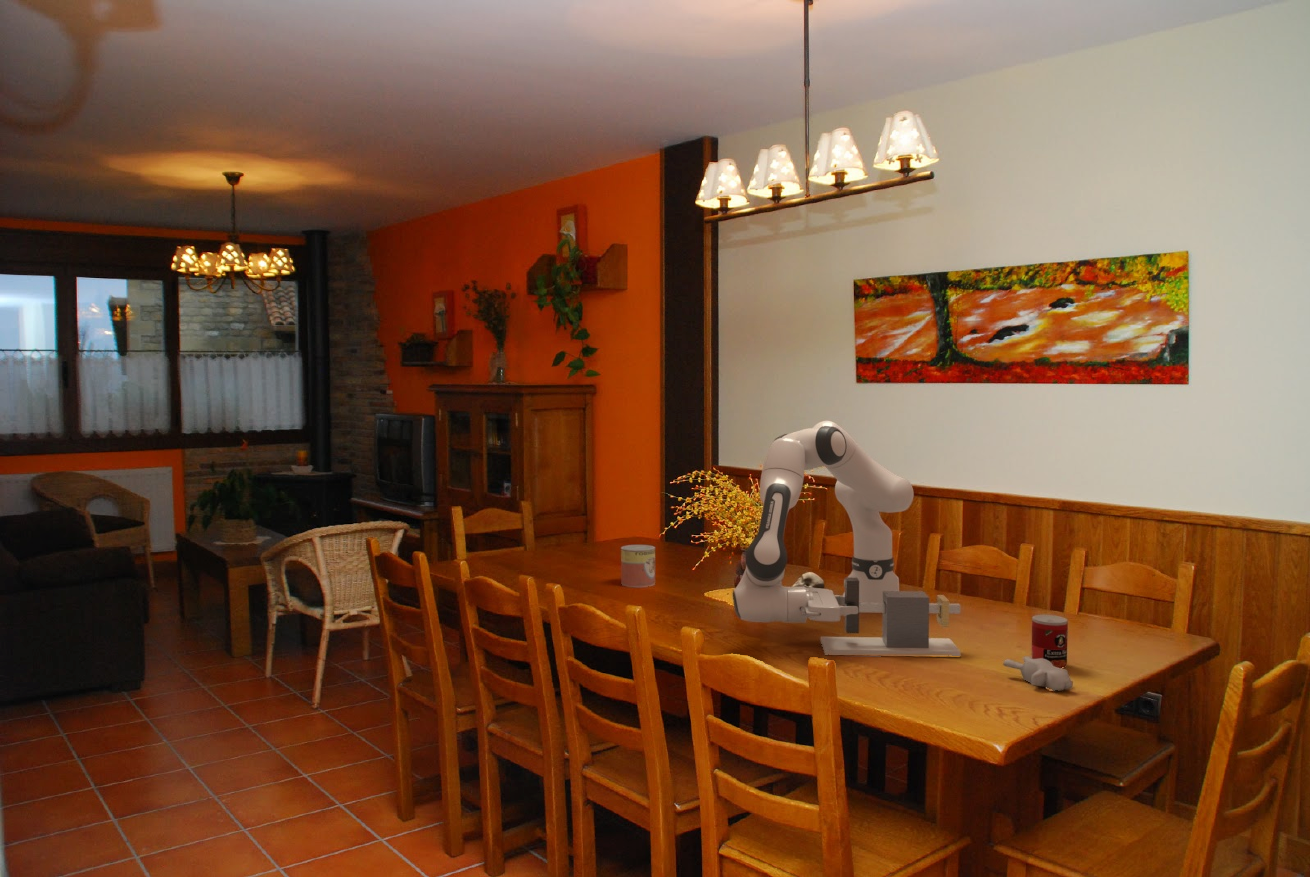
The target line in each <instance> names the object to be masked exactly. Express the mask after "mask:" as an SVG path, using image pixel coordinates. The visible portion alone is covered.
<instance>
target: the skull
mask: <svg viewBox="0 0 1310 877" xmlns="http://www.w3.org/2000/svg"><path fill="white" fill-rule="evenodd" d="M796 585H803V586H804V587H806V588H821V589H826V588H825V587H826V586H825V581H824V580H823V578H822V577H820V576H819V575H818V574H816V573H814V572H812V571H811V572H810V571H809V572H805V573H803V574H802V575H801V577H798V578H797V581H795V583H794V584H793V585H792V586H791V587H794V586H796Z"/></svg>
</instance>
